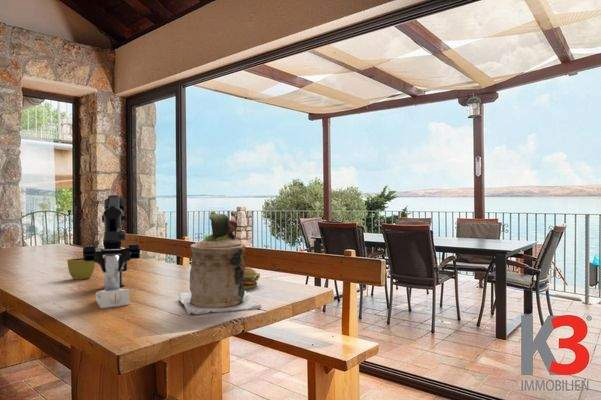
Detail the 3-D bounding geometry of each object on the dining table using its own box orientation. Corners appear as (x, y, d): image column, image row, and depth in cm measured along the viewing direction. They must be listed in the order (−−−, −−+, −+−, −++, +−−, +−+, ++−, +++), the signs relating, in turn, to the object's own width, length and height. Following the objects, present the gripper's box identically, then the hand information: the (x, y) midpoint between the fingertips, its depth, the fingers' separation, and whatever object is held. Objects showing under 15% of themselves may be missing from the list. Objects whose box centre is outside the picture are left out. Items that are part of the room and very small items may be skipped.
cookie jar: (187, 317, 128) (187, 213, 128) (177, 299, 151) (177, 211, 150) (263, 308, 138) (263, 212, 138) (243, 293, 160) (243, 210, 160)
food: (251, 291, 163) (251, 271, 163) (220, 288, 168) (220, 269, 168) (266, 284, 176) (266, 266, 176) (237, 282, 181) (237, 264, 181)
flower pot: (96, 278, 191) (96, 258, 191) (77, 281, 184) (77, 260, 184) (85, 276, 196) (85, 257, 196) (66, 279, 188) (66, 259, 188)
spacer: (107, 288, 149) (107, 254, 149) (121, 288, 149) (121, 254, 149) (102, 291, 144) (102, 256, 144) (116, 291, 144) (116, 256, 144)
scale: (93, 300, 148) (93, 286, 148) (125, 297, 154) (125, 283, 154) (98, 308, 138) (98, 293, 138) (131, 304, 143) (131, 289, 143)
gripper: (83, 223, 147) (80, 259, 136) (140, 222, 154) (140, 256, 144) (85, 243, 154) (82, 278, 144) (139, 241, 161) (140, 274, 151)
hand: (111, 271), depth 145 cm, fingers closed on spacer, 5 cm apart
